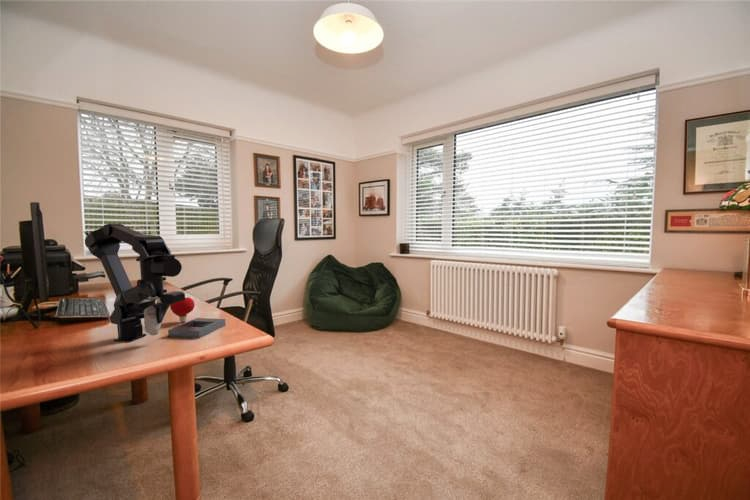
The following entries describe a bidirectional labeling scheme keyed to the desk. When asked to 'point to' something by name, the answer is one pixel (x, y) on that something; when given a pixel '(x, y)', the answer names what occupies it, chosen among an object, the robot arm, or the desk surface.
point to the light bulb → (182, 308)
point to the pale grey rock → (151, 321)
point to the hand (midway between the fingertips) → (155, 323)
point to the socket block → (196, 328)
